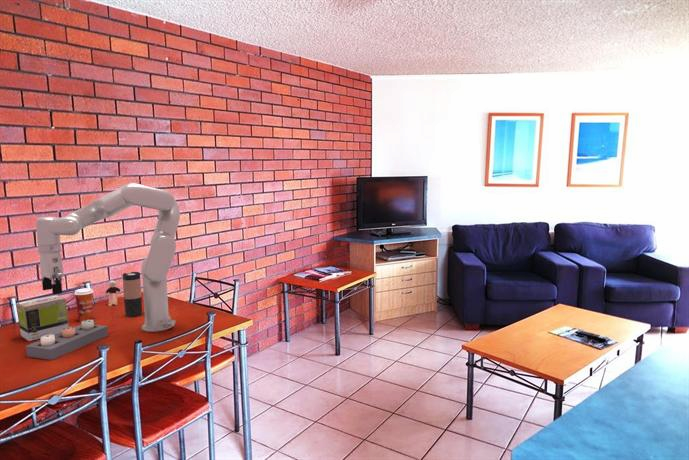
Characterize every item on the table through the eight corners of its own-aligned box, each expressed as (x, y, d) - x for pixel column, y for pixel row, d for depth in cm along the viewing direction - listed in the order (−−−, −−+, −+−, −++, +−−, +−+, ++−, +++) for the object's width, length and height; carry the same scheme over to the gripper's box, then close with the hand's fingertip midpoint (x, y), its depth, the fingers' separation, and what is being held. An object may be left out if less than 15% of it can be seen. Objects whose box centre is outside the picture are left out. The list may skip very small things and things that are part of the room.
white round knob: (58, 345, 172) (57, 334, 171) (47, 349, 168) (46, 338, 167) (49, 344, 173) (48, 333, 173) (38, 348, 169) (37, 337, 168)
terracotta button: (78, 337, 180) (77, 326, 180) (68, 340, 176) (68, 330, 176) (69, 335, 182) (68, 325, 181) (59, 339, 177) (59, 329, 177)
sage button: (96, 329, 189) (96, 319, 188) (88, 333, 185) (87, 323, 184) (88, 328, 190) (87, 318, 190) (79, 332, 186) (78, 322, 185)
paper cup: (81, 323, 205) (78, 293, 203) (73, 320, 210) (71, 290, 208) (99, 319, 211) (96, 289, 210) (91, 315, 216) (89, 286, 214)
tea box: (60, 327, 201) (57, 294, 199) (69, 331, 195) (66, 298, 193) (19, 336, 189) (16, 301, 187) (28, 342, 183) (24, 306, 181)
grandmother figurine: (107, 307, 230) (105, 282, 229) (104, 305, 233) (103, 281, 231) (123, 304, 235) (121, 279, 234) (120, 302, 238) (119, 278, 237)
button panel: (108, 335, 190) (107, 326, 189) (51, 360, 165) (50, 349, 165) (85, 332, 193) (84, 323, 193) (26, 356, 169) (25, 345, 168)
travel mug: (138, 317, 213) (135, 275, 211) (121, 317, 214) (119, 275, 211) (145, 312, 221) (143, 271, 219) (129, 312, 221) (127, 271, 219)
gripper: (69, 249, 175) (72, 293, 178) (51, 245, 186) (54, 286, 188) (47, 252, 170) (50, 297, 172) (30, 247, 180) (33, 289, 182)
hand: (52, 291), depth 180 cm, fingers open, 9 cm apart
